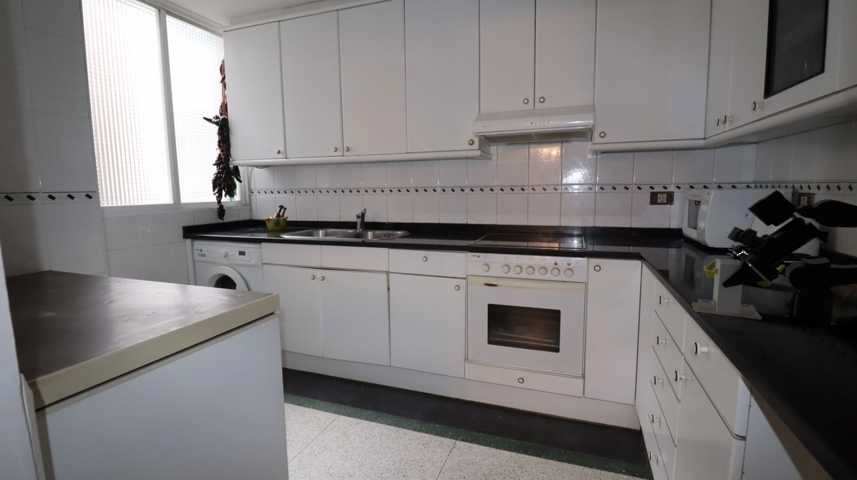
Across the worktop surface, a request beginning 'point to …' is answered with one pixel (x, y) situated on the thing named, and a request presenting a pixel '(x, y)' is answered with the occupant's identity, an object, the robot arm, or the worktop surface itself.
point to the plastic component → (710, 274)
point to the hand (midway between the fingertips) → (720, 282)
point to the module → (729, 296)
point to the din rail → (710, 307)
